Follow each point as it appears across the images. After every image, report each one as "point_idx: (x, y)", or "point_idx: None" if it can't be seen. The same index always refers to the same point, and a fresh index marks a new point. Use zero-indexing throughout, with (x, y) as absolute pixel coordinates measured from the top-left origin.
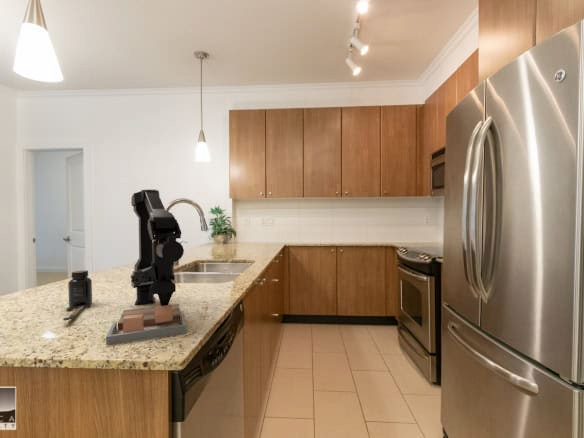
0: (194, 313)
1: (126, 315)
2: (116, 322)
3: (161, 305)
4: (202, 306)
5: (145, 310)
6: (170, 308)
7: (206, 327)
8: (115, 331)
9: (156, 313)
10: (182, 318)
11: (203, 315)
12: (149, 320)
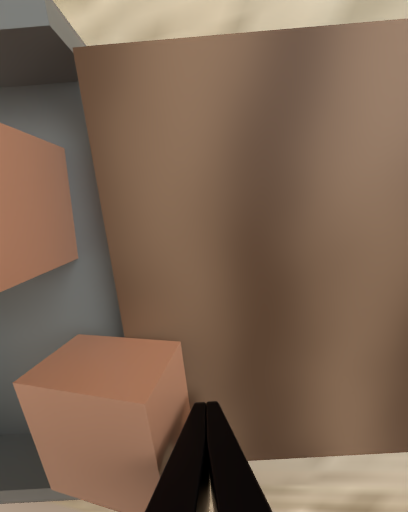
0: (295, 464)
1: (297, 85)
2: (41, 24)
3: (174, 453)
4: (393, 495)
5: (372, 242)
6: (107, 498)
7: (83, 500)
8: (25, 72)
9: (34, 396)
10: (46, 492)
11: None
12: (122, 298)
